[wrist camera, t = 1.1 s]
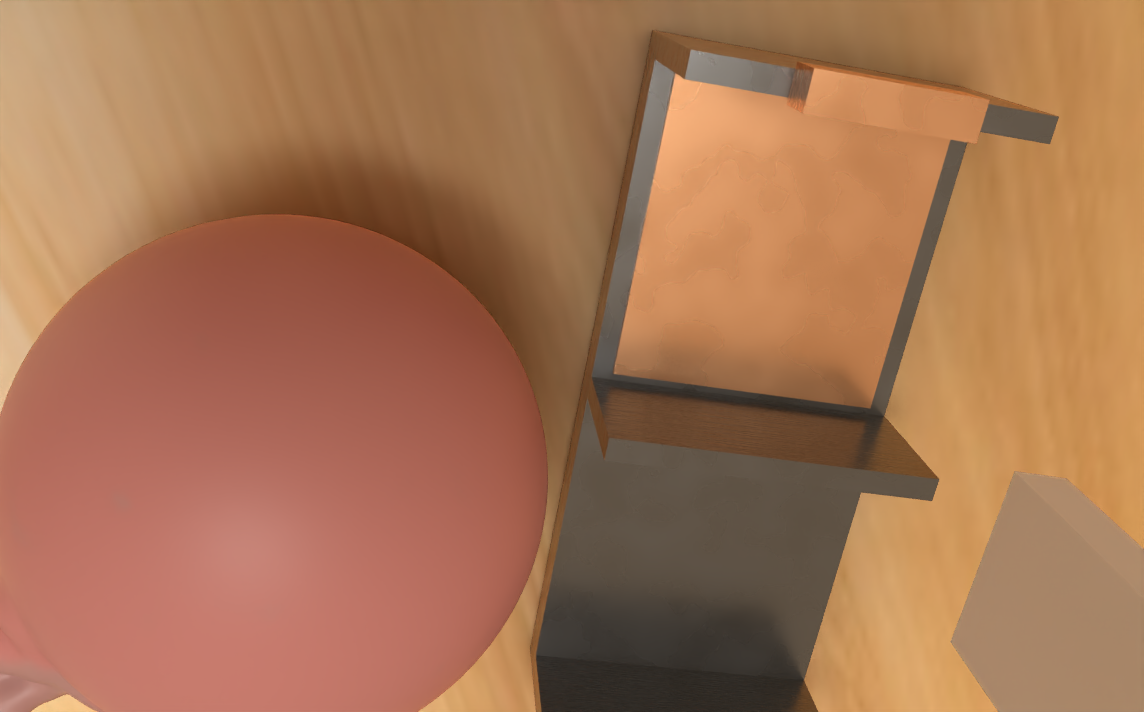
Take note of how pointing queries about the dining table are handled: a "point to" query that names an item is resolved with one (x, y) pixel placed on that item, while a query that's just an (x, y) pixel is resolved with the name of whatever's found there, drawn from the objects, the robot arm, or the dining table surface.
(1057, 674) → the robot arm
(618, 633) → the rack
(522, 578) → the balloon
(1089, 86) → the dining table surface
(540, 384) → the dining table surface
